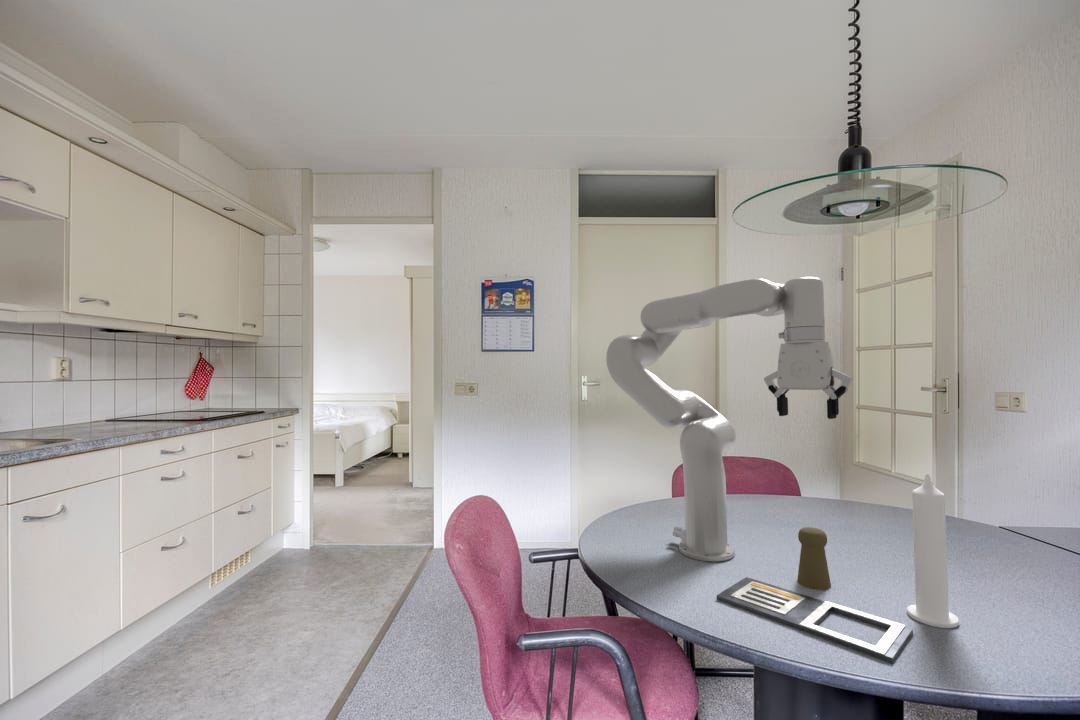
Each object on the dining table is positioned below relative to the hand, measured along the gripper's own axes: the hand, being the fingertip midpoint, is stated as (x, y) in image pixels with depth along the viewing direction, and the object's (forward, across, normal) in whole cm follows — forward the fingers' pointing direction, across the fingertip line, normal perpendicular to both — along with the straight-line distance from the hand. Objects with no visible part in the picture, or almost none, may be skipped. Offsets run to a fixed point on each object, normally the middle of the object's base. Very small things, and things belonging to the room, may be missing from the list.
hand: (807, 416), depth 105 cm
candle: (+34, +21, -4) cm, 40 cm away
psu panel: (+33, +6, -18) cm, 39 cm away
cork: (+34, +2, -4) cm, 34 cm away
